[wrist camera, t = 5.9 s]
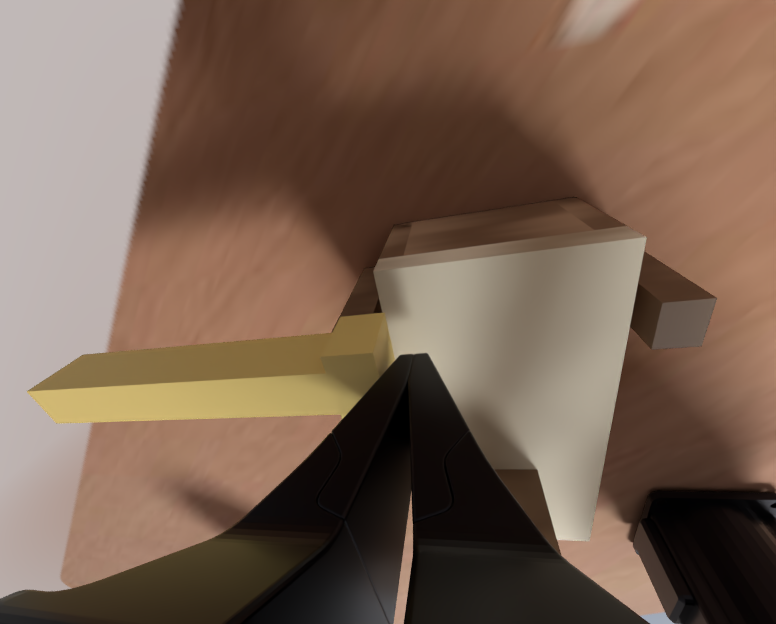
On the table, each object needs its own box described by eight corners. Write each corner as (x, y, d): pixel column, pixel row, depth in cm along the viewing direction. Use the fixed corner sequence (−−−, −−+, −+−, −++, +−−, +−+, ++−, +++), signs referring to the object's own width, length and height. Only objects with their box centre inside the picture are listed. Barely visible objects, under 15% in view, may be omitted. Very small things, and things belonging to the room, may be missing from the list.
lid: (627, 226, 9) (796, 321, 5) (581, 518, 16) (634, 668, 11) (378, 259, 10) (335, 355, 6) (432, 513, 17) (430, 645, 13)
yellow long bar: (384, 312, 10) (372, 353, 8) (399, 379, 11) (391, 426, 9) (73, 342, 12) (14, 378, 11) (113, 394, 14) (66, 434, 12)
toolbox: (626, 189, 12) (738, 230, 8) (588, 446, 19) (635, 550, 14) (355, 230, 14) (315, 282, 10) (407, 447, 21) (397, 539, 16)
